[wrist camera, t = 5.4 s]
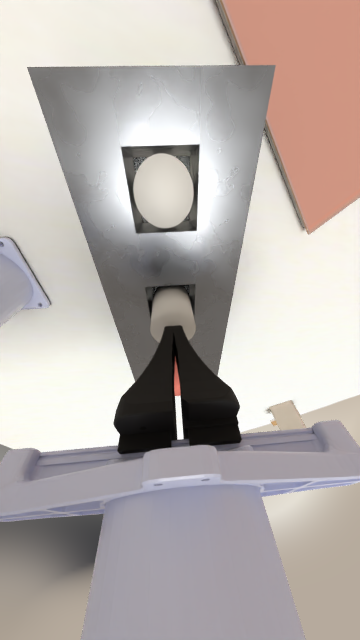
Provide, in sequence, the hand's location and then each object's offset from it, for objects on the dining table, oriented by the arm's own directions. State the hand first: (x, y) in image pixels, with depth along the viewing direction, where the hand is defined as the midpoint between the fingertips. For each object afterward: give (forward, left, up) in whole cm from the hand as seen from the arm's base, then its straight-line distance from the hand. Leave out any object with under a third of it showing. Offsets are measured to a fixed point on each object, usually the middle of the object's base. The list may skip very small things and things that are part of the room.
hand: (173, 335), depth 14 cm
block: (0, 0, -9) cm, 9 cm away
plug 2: (0, 0, -6) cm, 6 cm away
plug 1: (0, +9, -8) cm, 12 cm away
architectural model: (+27, -37, -10) cm, 46 cm away
